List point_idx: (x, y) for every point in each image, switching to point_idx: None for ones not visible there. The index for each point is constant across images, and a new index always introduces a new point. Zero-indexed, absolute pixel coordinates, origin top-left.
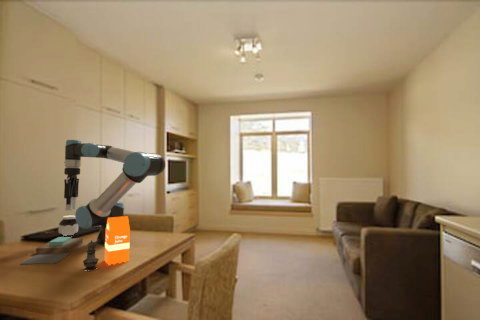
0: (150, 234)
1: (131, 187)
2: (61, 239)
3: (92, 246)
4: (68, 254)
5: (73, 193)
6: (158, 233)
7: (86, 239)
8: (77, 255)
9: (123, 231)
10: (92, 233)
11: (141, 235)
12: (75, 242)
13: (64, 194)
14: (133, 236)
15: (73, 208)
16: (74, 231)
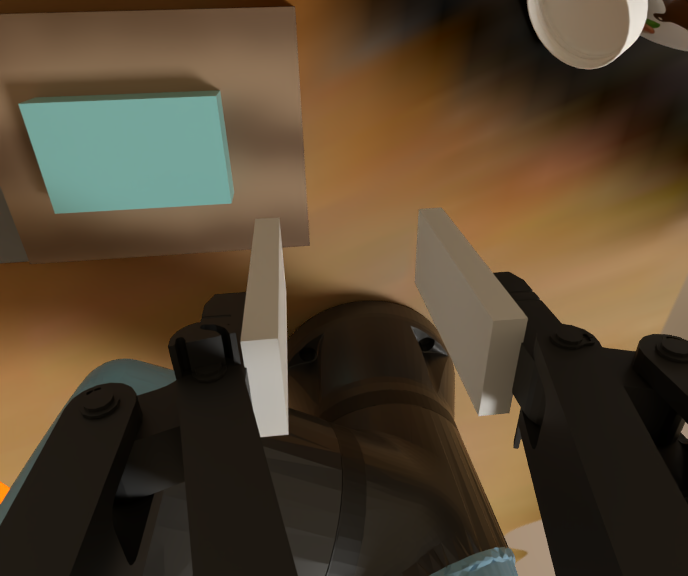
0: (495, 499)
1: None
2: (124, 167)
3: None
4: (25, 259)
5: (544, 447)
6: (509, 523)
7: (436, 203)
8: (25, 315)
9: None
10: (640, 168)
11: (481, 469)
12: (173, 251)
13: (36, 465)
14: (465, 442)
15: (419, 263)
16: (590, 60)
